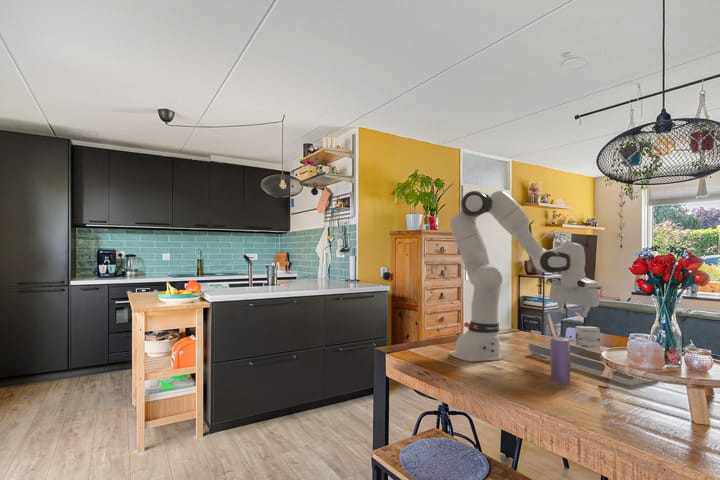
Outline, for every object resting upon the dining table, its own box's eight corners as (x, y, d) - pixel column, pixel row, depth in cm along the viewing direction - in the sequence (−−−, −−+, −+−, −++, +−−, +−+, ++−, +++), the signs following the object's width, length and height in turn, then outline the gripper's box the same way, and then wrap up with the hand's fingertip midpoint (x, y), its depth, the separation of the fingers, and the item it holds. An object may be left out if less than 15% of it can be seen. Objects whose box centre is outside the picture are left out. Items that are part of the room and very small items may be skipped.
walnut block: (599, 366, 145) (599, 353, 145) (584, 362, 150) (584, 349, 151) (609, 364, 147) (609, 351, 148) (594, 360, 153) (594, 348, 153)
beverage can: (562, 385, 129) (562, 340, 130) (546, 380, 134) (546, 337, 135) (573, 383, 132) (573, 339, 132) (557, 378, 137) (557, 335, 138)
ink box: (594, 352, 174) (594, 326, 175) (600, 355, 169) (600, 328, 170) (574, 351, 175) (574, 325, 175) (579, 354, 170) (579, 327, 171)
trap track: (630, 385, 130) (630, 367, 130) (529, 354, 168) (529, 341, 168) (658, 379, 137) (658, 362, 137) (554, 351, 175) (554, 338, 175)
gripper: (546, 279, 167) (546, 311, 167) (591, 283, 149) (591, 319, 148) (556, 279, 170) (556, 311, 169) (602, 283, 151) (602, 318, 151)
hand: (573, 315), depth 159 cm, fingers open, 8 cm apart
